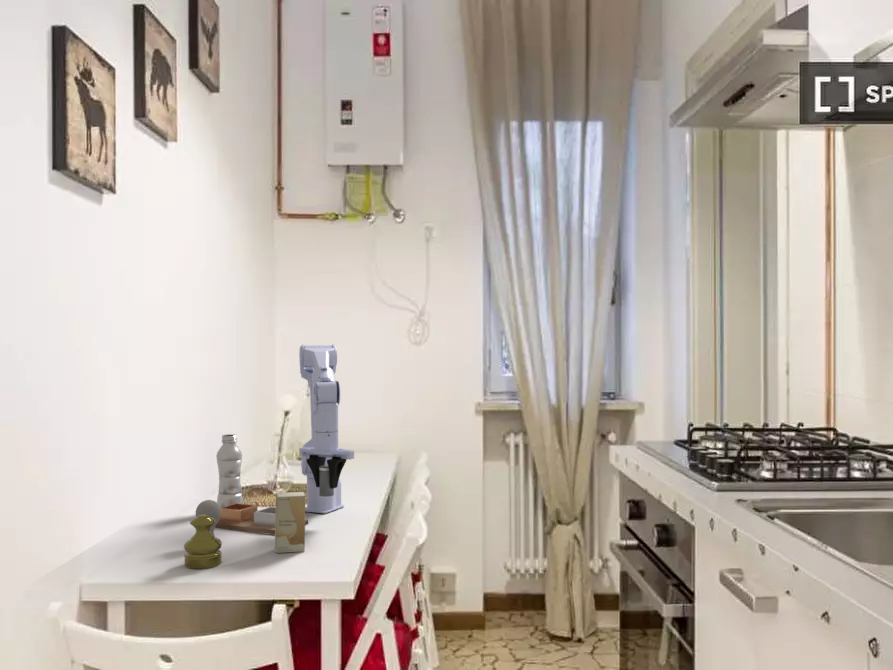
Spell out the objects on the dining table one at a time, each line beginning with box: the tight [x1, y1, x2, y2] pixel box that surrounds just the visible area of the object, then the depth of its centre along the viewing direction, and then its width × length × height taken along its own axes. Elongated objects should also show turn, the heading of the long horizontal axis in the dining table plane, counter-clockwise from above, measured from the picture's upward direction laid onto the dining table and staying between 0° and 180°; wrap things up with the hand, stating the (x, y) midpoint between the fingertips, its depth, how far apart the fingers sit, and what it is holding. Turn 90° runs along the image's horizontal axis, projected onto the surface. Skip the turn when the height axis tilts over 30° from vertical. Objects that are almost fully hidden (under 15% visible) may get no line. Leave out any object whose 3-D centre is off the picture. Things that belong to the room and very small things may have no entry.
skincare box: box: [274, 491, 306, 554], centre depth 178 cm, size 6×4×12 cm
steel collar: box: [254, 506, 276, 527], centre depth 199 cm, size 6×6×3 cm
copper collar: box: [219, 503, 258, 523], centre depth 204 cm, size 6×6×3 cm
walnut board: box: [214, 519, 309, 536], centre depth 201 cm, size 12×22×1 cm, turn 65°
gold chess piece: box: [183, 515, 223, 570], centre depth 168 cm, size 7×7×10 cm
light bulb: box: [195, 499, 221, 536], centre depth 183 cm, size 5×5×10 cm
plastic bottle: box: [216, 433, 244, 508], centre depth 216 cm, size 6×7×20 cm
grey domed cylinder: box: [319, 465, 334, 497], centre depth 200 cm, size 4×4×7 cm
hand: (326, 487), depth 200 cm, fingers closed on grey domed cylinder, 3 cm apart
